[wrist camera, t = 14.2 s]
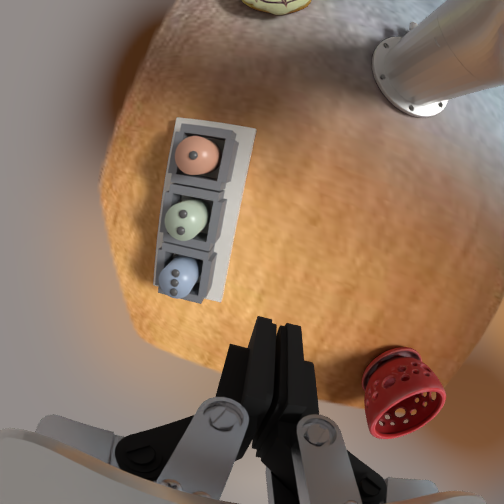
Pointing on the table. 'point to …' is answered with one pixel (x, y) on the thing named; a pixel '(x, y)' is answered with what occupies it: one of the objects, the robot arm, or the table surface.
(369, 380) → the plant pot
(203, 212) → the button two pip
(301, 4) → the decorated donut
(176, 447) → the robot arm
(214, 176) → the button board
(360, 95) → the table surface
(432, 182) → the table surface
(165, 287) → the button three pip
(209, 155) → the button one pip
